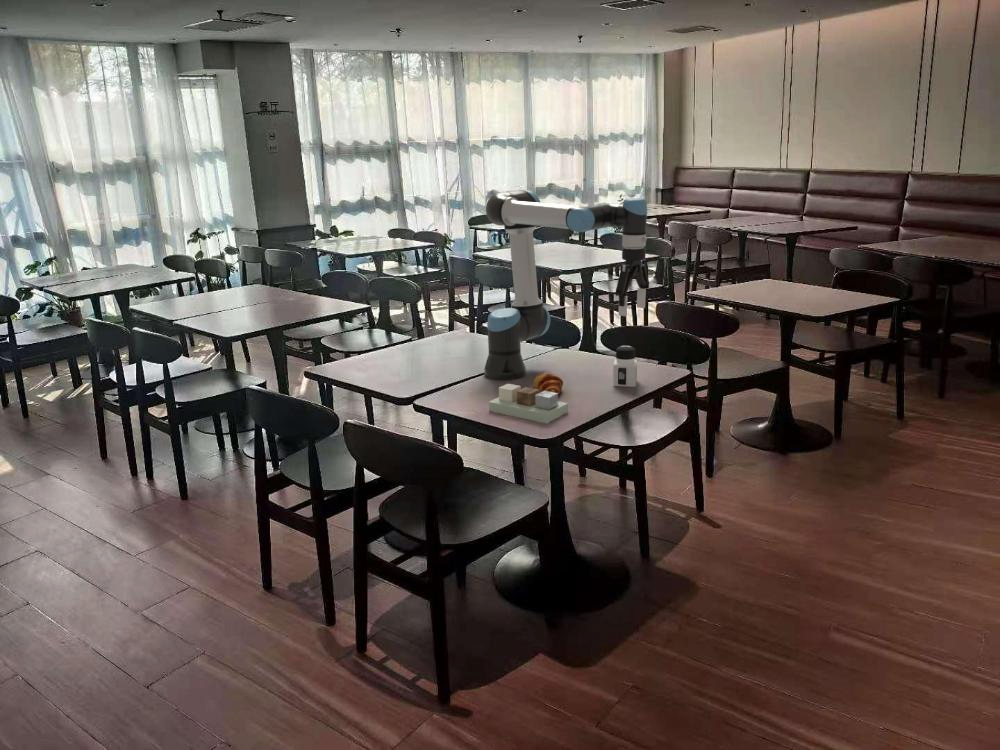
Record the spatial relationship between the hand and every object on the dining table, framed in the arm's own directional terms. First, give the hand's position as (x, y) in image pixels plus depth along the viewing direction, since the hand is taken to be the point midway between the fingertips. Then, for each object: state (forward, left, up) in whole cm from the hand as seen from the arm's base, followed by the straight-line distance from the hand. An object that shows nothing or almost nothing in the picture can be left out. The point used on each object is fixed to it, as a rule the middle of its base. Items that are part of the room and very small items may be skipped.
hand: (631, 311), depth 268 cm
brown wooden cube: (-16, -38, -25) cm, 48 cm away
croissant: (-22, -17, -27) cm, 39 cm away
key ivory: (-23, -38, -25) cm, 51 cm away
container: (-4, +4, -27) cm, 27 cm away
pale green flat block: (-16, -38, -27) cm, 49 cm away
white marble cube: (-9, -38, -25) cm, 46 cm away
